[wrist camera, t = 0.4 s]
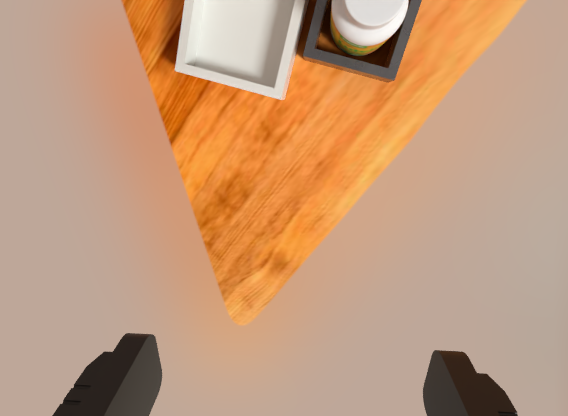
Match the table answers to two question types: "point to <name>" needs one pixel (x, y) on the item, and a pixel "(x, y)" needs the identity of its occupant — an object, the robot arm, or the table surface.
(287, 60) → the tray
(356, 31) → the supplement bottle
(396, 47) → the holder sleeve
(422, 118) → the table surface
